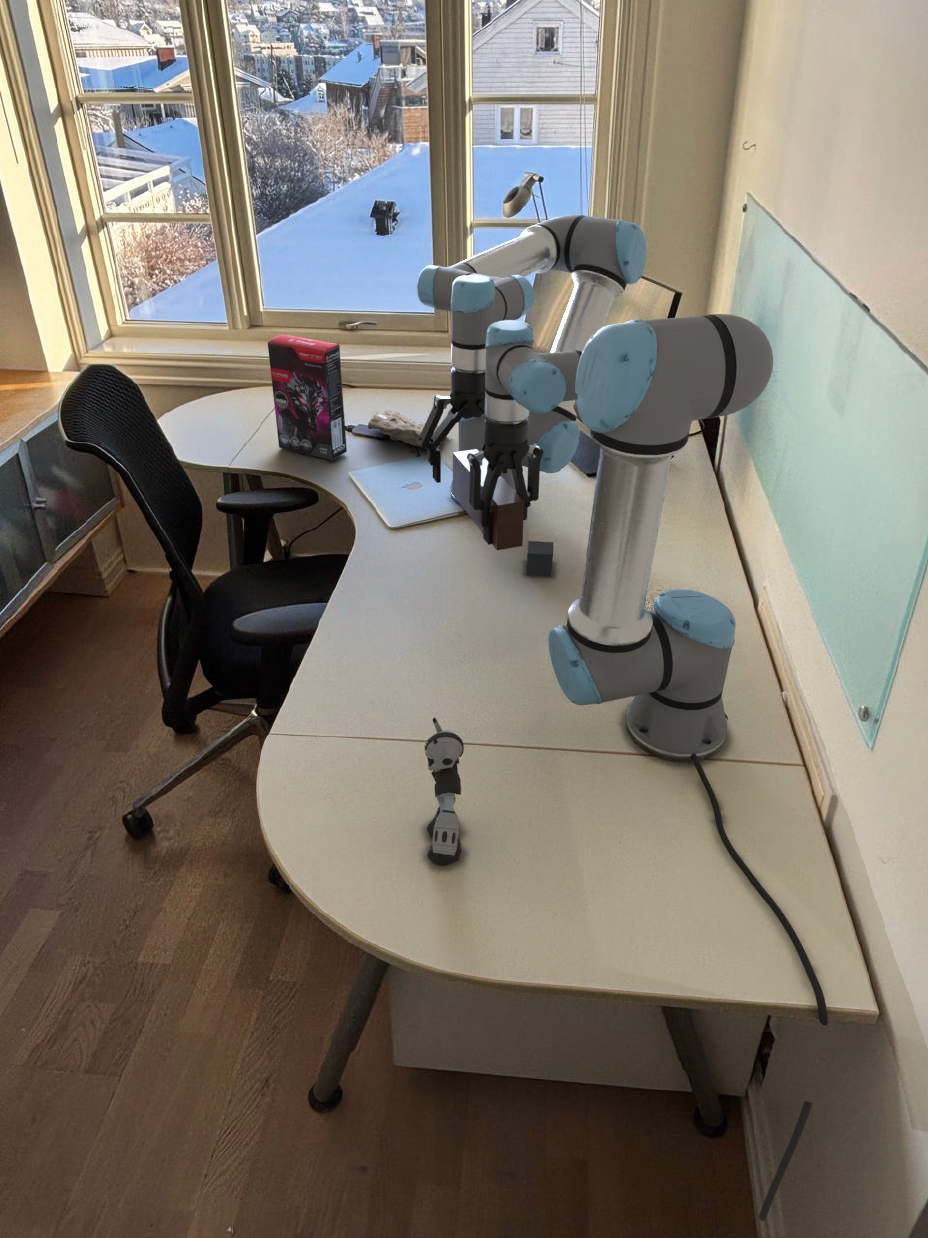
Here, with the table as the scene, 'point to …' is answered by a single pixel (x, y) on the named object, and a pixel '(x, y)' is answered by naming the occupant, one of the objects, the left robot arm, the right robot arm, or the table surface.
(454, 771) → the robot
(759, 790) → the table surface
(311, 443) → the graphics card box
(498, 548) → the walnut beam
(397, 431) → the stone
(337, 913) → the table surface
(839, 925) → the table surface
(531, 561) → the grey rubber block
